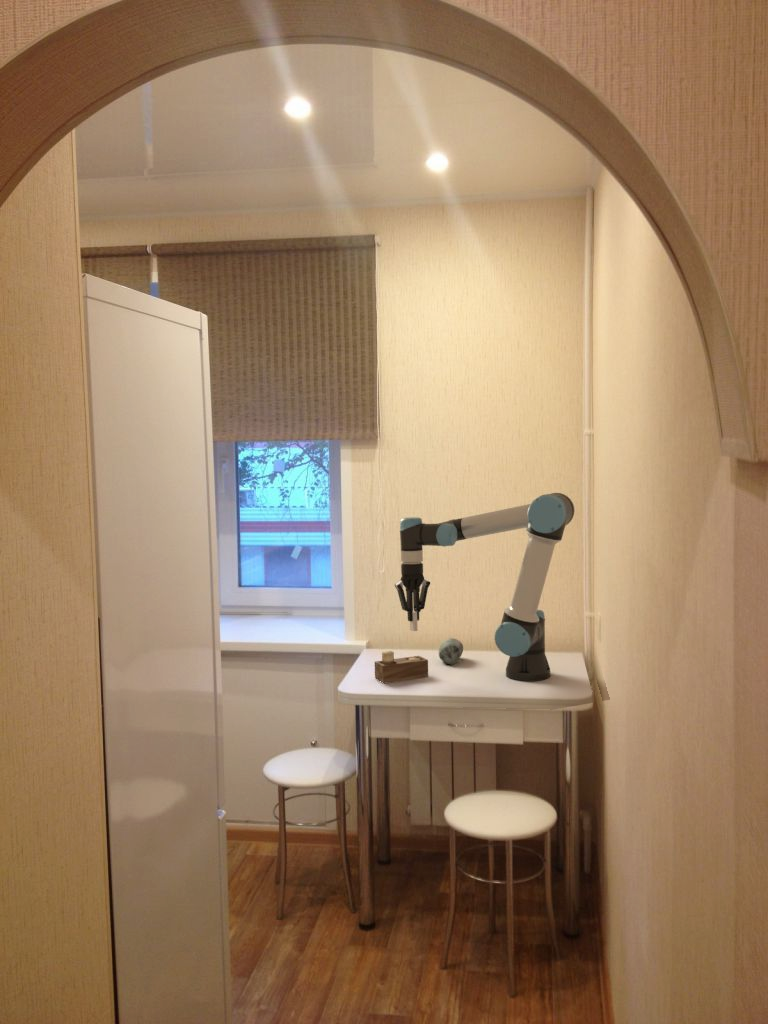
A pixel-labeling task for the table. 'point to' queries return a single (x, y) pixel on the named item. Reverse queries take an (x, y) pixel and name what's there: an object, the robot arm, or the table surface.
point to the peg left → (387, 657)
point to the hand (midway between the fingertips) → (413, 630)
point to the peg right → (414, 659)
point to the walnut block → (401, 669)
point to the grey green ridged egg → (451, 651)
